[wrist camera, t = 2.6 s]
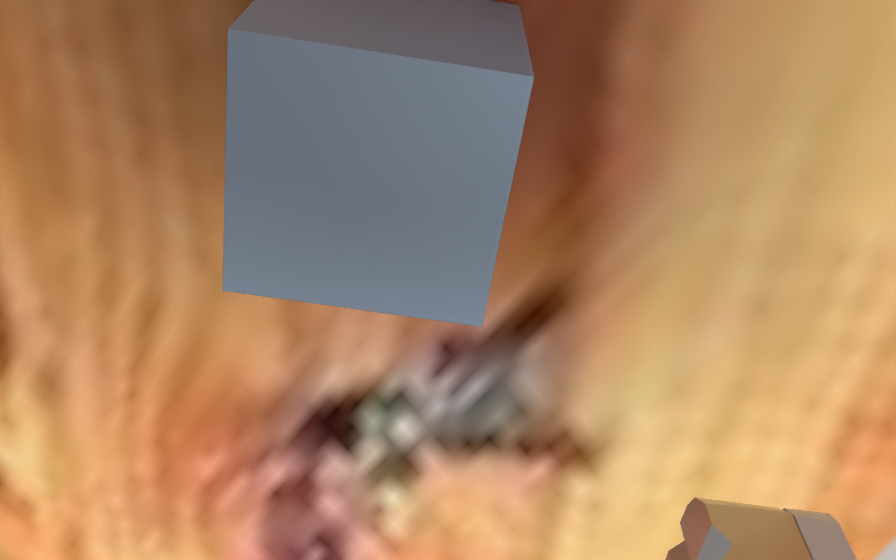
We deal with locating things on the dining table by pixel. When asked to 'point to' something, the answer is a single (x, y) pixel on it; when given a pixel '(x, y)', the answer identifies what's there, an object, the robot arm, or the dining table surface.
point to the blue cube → (372, 151)
